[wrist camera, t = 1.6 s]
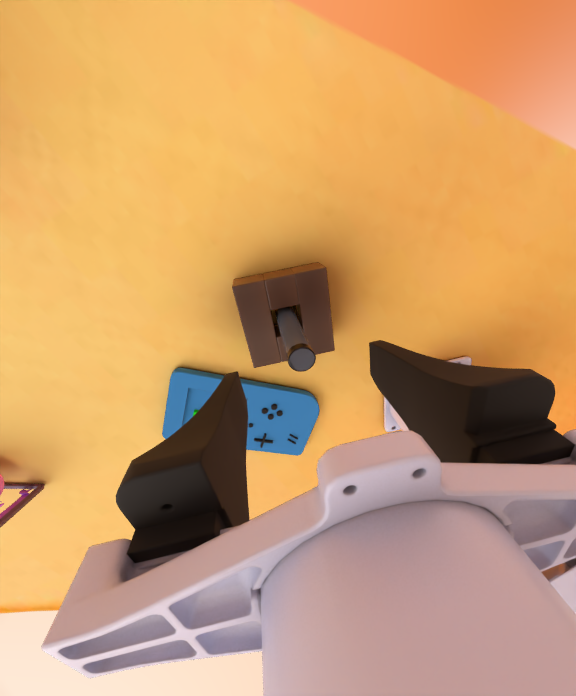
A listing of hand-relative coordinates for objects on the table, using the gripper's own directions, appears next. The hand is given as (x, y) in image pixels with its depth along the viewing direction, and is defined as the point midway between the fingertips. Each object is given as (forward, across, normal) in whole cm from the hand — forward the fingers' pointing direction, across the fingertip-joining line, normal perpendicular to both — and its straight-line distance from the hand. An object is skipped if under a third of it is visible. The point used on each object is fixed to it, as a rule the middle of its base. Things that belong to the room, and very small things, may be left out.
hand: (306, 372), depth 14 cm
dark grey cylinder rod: (+10, 0, 0) cm, 10 cm away
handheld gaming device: (+10, +6, +10) cm, 16 cm away
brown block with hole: (+10, 0, 0) cm, 10 cm away
